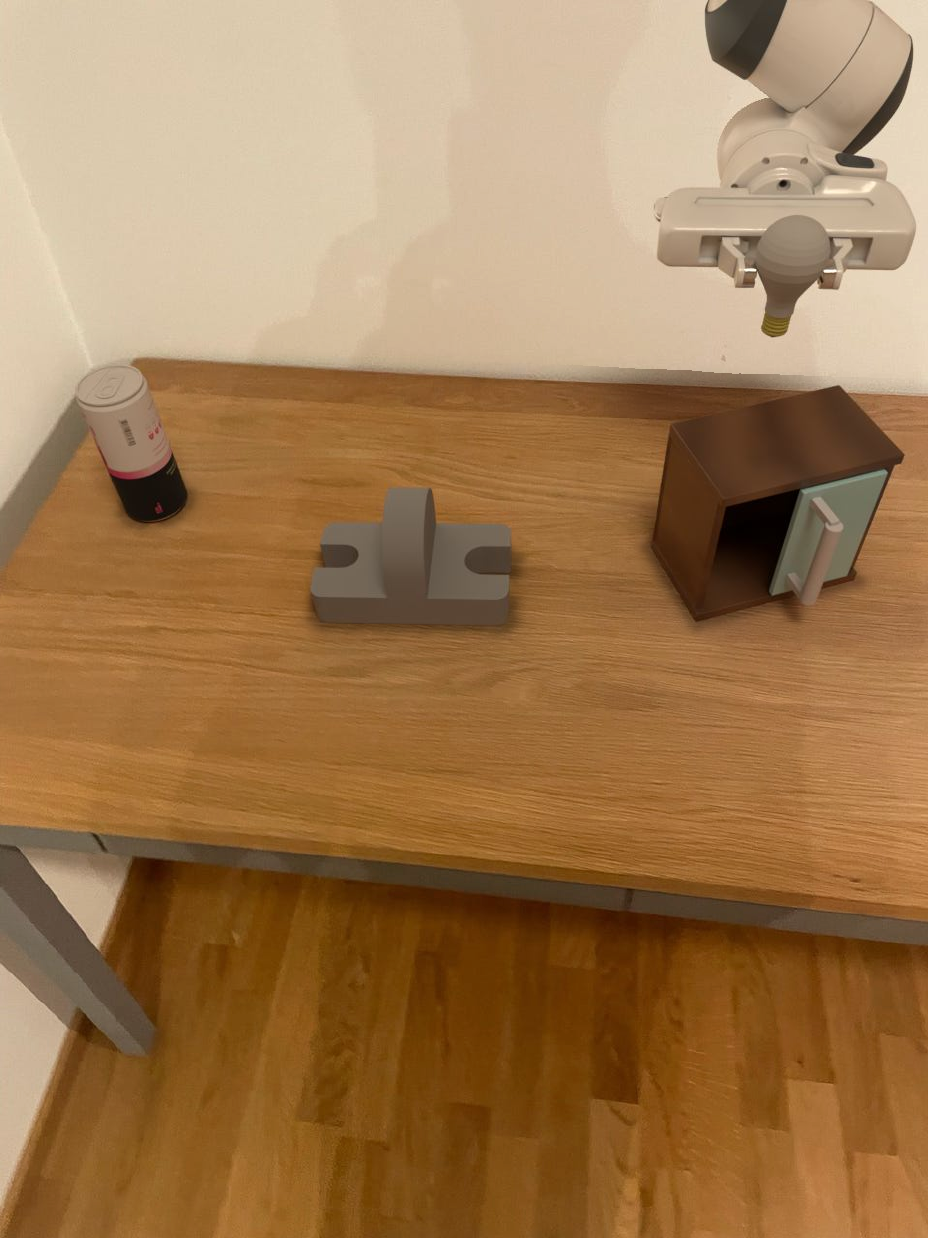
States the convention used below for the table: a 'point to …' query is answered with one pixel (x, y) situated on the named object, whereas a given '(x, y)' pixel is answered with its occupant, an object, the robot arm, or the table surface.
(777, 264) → the light bulb
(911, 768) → the table surface
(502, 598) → the bracket
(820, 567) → the door
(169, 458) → the beverage can
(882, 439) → the cabinet
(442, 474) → the table surface
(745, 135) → the robot arm
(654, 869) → the table surface
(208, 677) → the table surface
